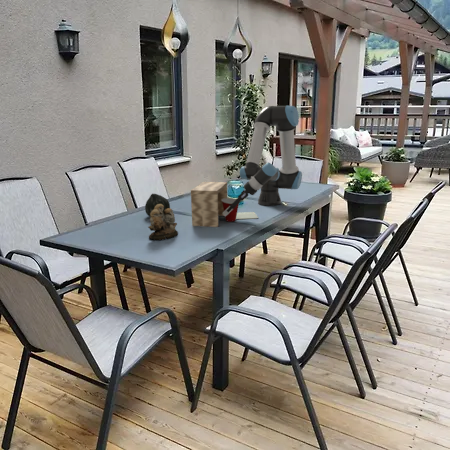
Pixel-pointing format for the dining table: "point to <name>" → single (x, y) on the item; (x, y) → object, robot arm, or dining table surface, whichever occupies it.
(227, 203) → the plastic cup
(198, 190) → the oak cabinet
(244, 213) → the mat
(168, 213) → the owl figurine
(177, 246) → the dining table surface
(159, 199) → the squash
